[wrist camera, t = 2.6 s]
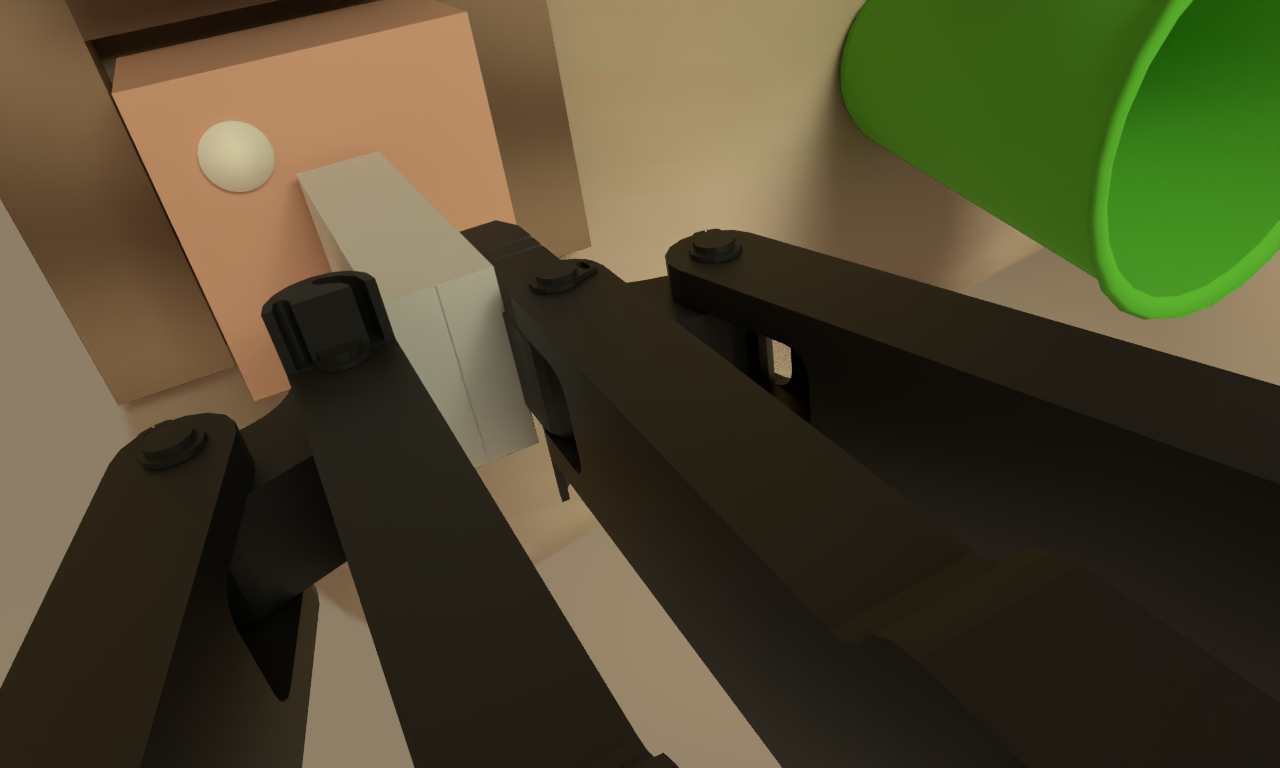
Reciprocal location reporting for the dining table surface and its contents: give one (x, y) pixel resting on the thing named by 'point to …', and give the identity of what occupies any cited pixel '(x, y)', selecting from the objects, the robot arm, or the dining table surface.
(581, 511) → the dining table surface
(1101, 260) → the cup
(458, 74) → the peach block
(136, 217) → the board
